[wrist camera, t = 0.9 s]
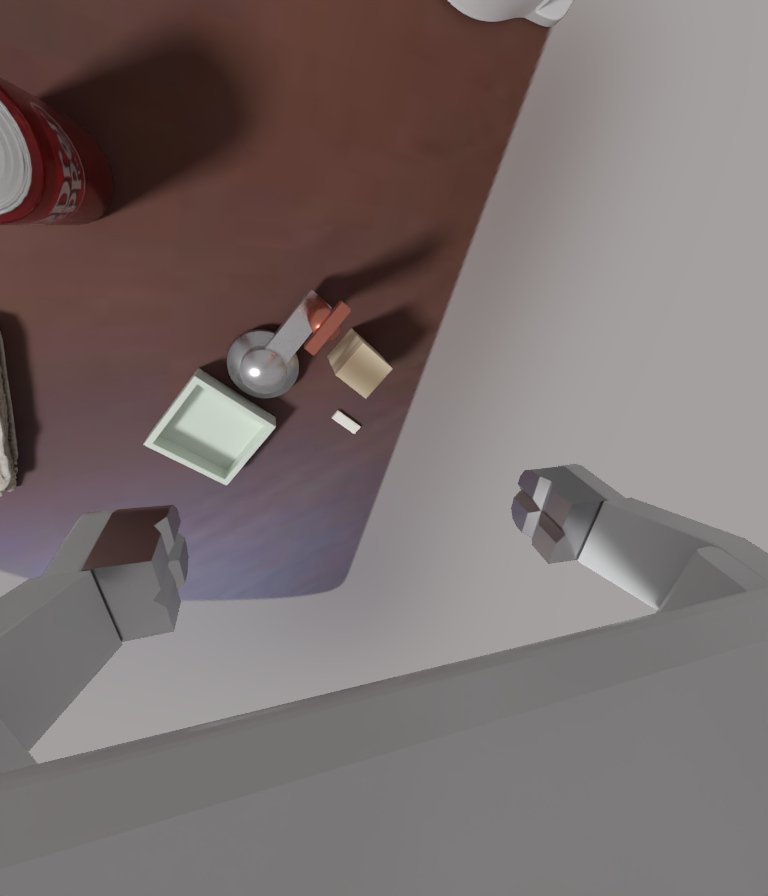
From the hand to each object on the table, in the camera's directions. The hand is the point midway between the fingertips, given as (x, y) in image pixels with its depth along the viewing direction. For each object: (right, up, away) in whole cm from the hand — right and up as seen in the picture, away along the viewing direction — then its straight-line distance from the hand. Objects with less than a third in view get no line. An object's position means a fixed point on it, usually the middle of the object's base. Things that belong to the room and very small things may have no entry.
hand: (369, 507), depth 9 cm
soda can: (-24, +23, +19) cm, 38 cm away
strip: (-4, +5, +36) cm, 37 cm away
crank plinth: (-12, +10, +30) cm, 34 cm away
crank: (-9, +12, +28) cm, 32 cm away
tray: (-18, +4, +32) cm, 37 cm away
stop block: (-3, +12, +32) cm, 35 cm away
